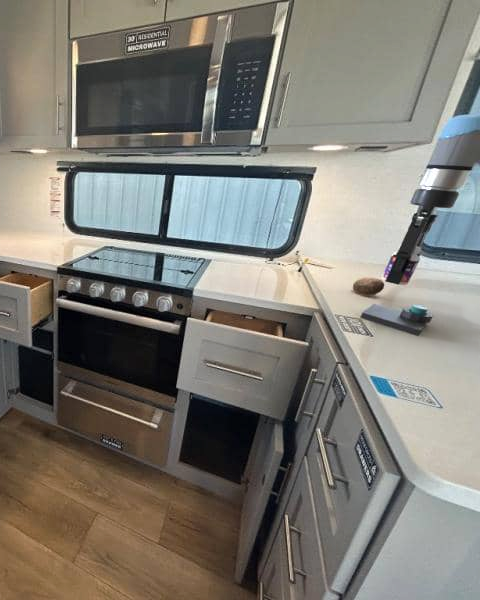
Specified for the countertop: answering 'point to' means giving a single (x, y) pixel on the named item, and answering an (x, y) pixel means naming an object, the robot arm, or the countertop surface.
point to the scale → (397, 318)
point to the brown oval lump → (368, 286)
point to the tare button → (419, 309)
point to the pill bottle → (409, 269)
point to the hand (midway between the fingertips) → (394, 280)
